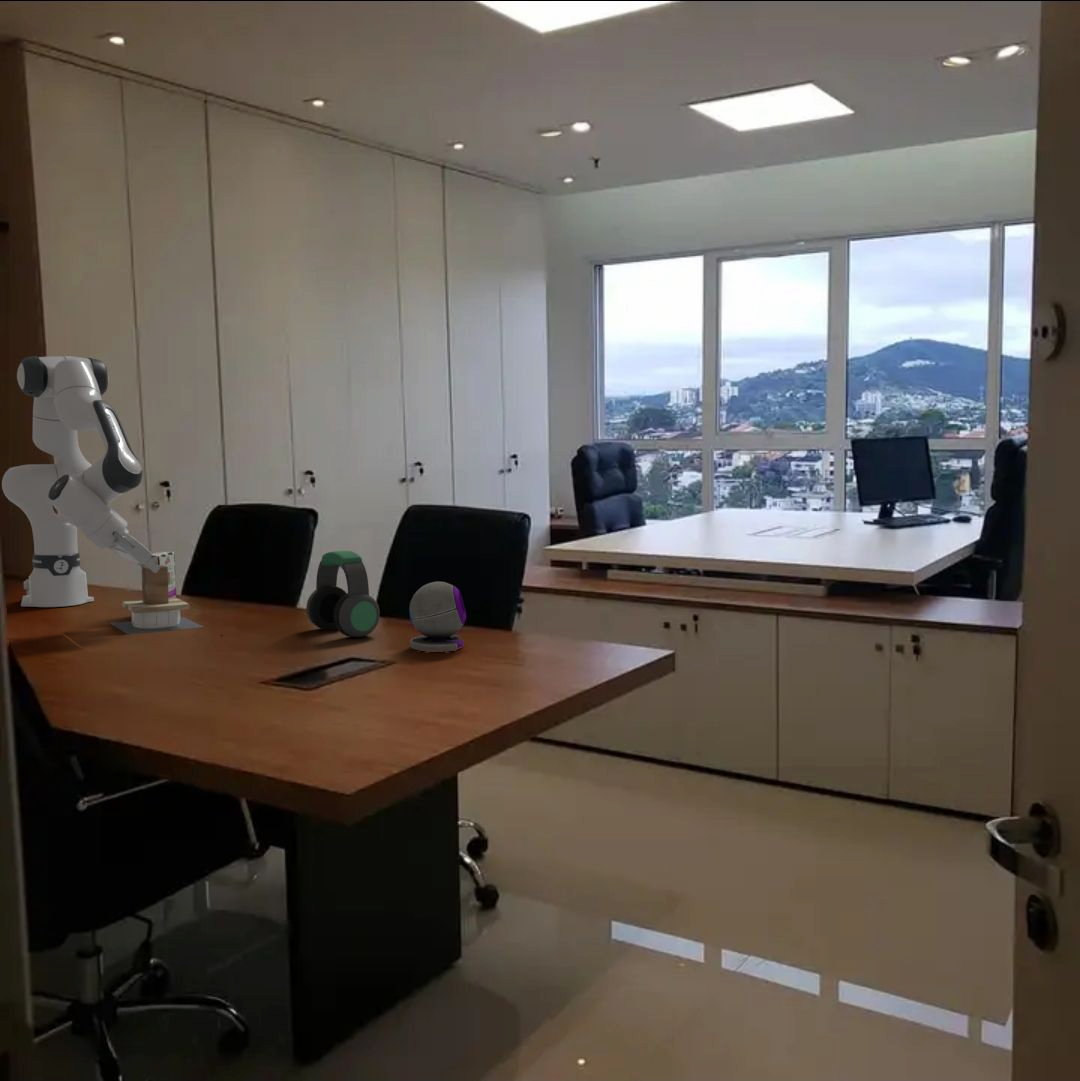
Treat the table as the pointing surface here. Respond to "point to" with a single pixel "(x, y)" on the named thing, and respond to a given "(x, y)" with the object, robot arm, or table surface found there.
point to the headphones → (343, 597)
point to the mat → (129, 629)
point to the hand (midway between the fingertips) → (151, 568)
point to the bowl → (156, 619)
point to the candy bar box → (168, 561)
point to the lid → (155, 594)
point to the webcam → (437, 617)
